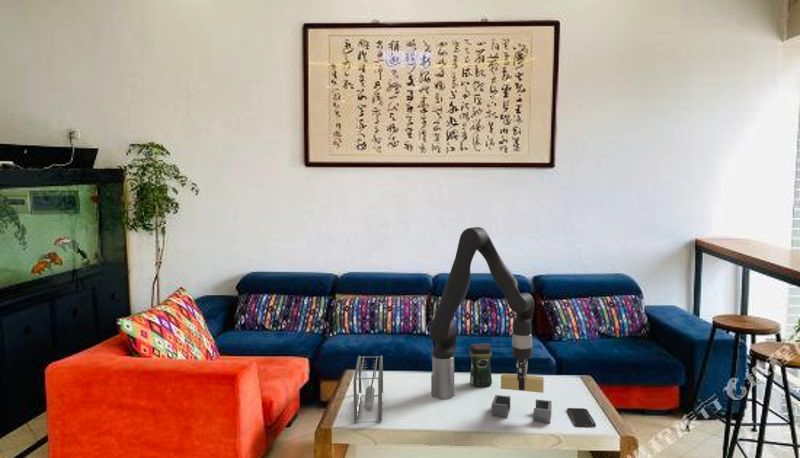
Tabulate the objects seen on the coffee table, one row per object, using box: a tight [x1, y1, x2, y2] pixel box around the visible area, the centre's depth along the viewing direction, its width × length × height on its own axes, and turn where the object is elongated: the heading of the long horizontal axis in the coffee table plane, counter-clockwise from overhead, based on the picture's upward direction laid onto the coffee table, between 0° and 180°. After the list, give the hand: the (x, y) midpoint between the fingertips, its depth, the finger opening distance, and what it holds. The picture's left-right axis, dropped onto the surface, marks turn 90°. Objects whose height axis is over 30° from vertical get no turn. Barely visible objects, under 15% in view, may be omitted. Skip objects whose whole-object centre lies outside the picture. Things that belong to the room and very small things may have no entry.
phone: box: [566, 407, 597, 428], centre depth 217 cm, size 8×1×15 cm
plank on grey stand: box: [491, 394, 553, 424], centre depth 220 cm, size 22×10×5 cm, turn 72°
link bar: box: [500, 373, 545, 394], centre depth 219 cm, size 16×4×5 cm, turn 72°
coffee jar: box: [469, 342, 493, 388], centre depth 252 cm, size 10×8×19 cm
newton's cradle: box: [352, 355, 384, 423], centre depth 228 cm, size 30×10×18 cm, turn 1°
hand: (522, 387), depth 219 cm, fingers closed on link bar, 3 cm apart
